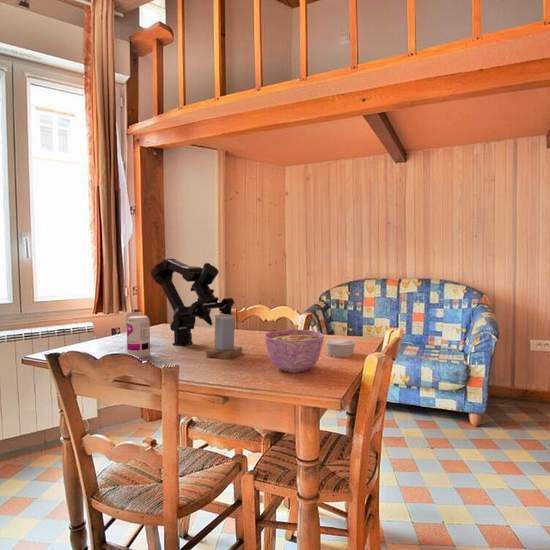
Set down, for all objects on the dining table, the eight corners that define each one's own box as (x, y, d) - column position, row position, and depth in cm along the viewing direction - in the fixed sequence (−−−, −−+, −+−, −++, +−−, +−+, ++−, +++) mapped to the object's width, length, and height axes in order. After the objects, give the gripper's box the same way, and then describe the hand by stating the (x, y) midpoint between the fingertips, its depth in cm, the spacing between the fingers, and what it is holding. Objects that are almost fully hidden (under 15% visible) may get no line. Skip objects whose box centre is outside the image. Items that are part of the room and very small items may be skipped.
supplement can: (129, 359, 163) (128, 319, 163) (125, 355, 171) (124, 316, 170) (152, 357, 167) (151, 317, 166) (147, 352, 174) (146, 314, 174)
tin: (214, 347, 170) (215, 315, 169) (226, 345, 174) (227, 314, 173) (221, 350, 166) (222, 317, 165) (234, 348, 169) (235, 316, 168)
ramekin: (352, 359, 162) (353, 345, 162) (322, 357, 166) (322, 343, 165) (356, 352, 173) (356, 339, 173) (328, 351, 176) (328, 337, 176)
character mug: (148, 343, 191) (147, 313, 190) (132, 346, 186) (131, 315, 186) (136, 340, 199) (135, 311, 198) (120, 342, 194) (120, 312, 193)
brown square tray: (206, 358, 167) (206, 350, 167) (219, 352, 176) (219, 345, 176) (230, 360, 163) (230, 352, 163) (242, 354, 172) (242, 347, 172)
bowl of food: (320, 361, 160) (320, 329, 159) (328, 377, 140) (328, 340, 139) (264, 362, 159) (264, 329, 158) (264, 378, 139) (263, 341, 138)
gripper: (214, 303, 188) (231, 333, 181) (175, 307, 175) (192, 339, 168) (226, 285, 182) (243, 315, 175) (187, 288, 169) (204, 321, 162)
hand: (221, 323), depth 170 cm, fingers open, 9 cm apart
